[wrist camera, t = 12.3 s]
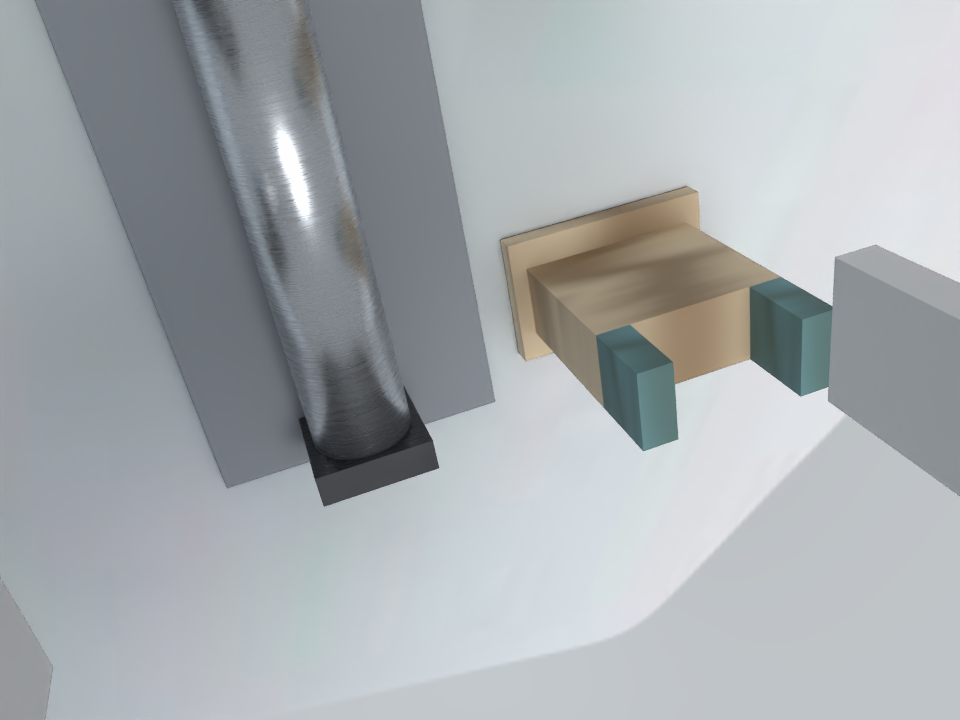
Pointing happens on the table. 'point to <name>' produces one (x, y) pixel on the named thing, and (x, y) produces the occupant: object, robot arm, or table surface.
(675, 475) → the table surface
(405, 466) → the rail
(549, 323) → the post
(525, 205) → the table surface
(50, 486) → the table surface
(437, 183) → the pad
